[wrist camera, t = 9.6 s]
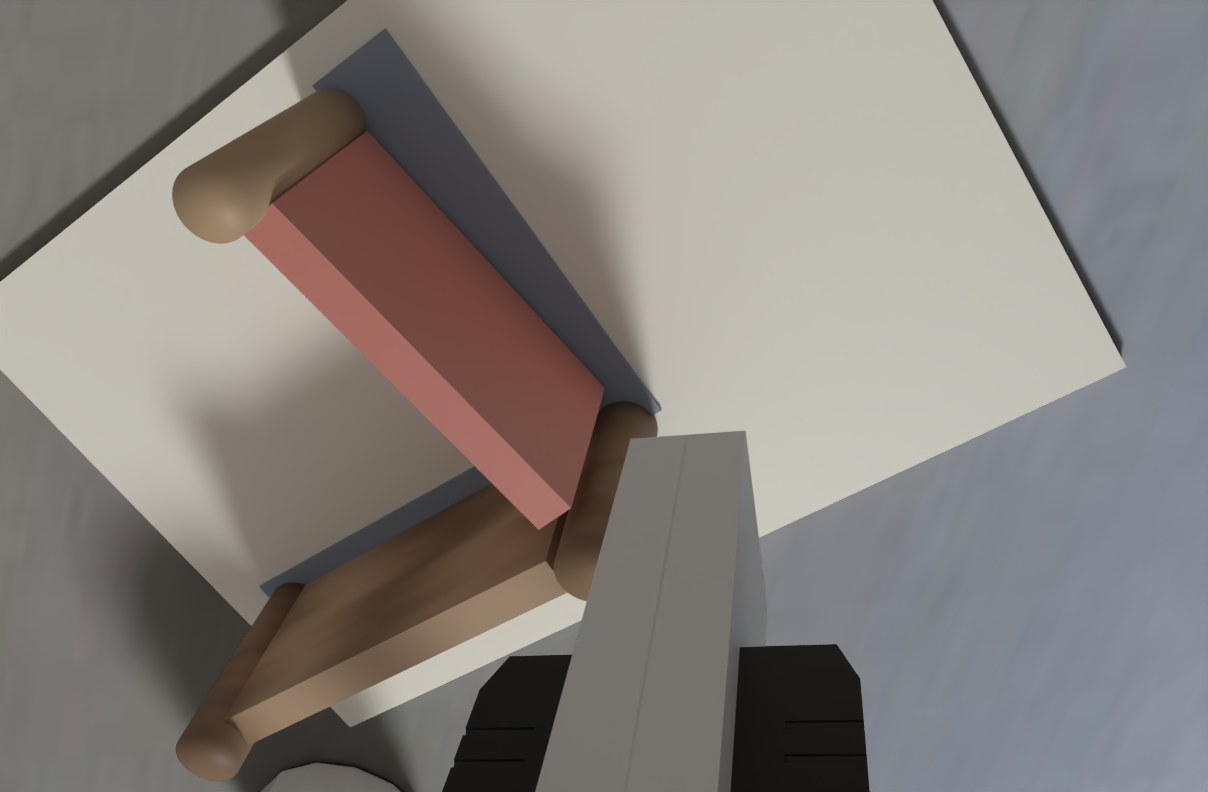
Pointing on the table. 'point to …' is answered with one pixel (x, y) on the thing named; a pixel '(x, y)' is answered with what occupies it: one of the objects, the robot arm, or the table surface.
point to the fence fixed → (407, 603)
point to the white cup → (327, 780)
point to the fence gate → (403, 292)
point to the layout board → (574, 275)
